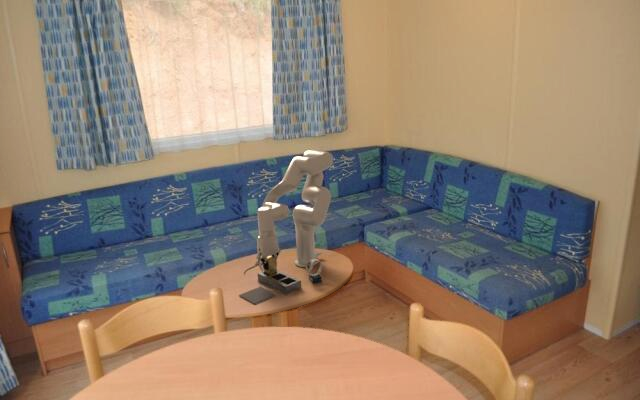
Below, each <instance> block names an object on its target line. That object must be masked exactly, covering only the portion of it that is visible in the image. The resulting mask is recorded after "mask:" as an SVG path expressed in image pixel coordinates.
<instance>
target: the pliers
mask: <svg viewBox="0 0 640 400" xmlns="http://www.w3.org/2000/svg"><path fill="white" fill-rule="evenodd" d="M257 266H258V267H259V269H260V270H261V272H262V271H264V268H263V262H262V261H260V260H258V259H257V261H256V262H255V264H254V265H253V266H250V267H248V268H247V269H245V270H244V271H243V275H245V274H246V273H247V271H249V270H251V269H254V268H256V267H257Z"/></svg>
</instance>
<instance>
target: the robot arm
mask: <svg viewBox="0 0 640 400" xmlns="http://www.w3.org/2000/svg"><path fill="white" fill-rule="evenodd" d="M333 162H334V157H333V154H332V153H331V152H329V151H327V150H326V151H325V150H316V149H308V150H306V151H305V152H304V153H303V156H302V155H301V156H299V155H297V156H294V157H293V158H292V160H291V161H290V163H289V165H288V167H287V170H286V171H285V173H284V175H283V177H282V180H281V181H280V182H279V183H277V184H276V185H275V186H274V187H273V188H271V189H270V190H269V191H268V192H267V194H266V195H265V198H264V200H263V202H262V205H261V206H260V207H258V209H257V211H256V212H257V213H256V215H257V225H258V236H257V241H256V250H257V255H256V257H255V259H256V260H257V261H258V260H260V262H263V264H262V268H263V270H264V269H265V270H268V263H267V257H268V256H273V257H275V258H276V266H277V267H278V265H277V264H278V261H277V259H278V257H279V255H280V253H281V252H282V249H281V247H280V245H279V239H278V236H277V233H276V230H277V227H275V222H277V221H283V220H285V219H286V218H288V216H289V214H290V209H289V207H288V205H286V204H284V203H279V202H278V200H279V199H280V198H281V197H282V196H284V195H286V194H289V193H292V192H295V191H297V190H298V188H299V186H300V184H301V182H302V179H303V177H304V175H306V180H305V183H304V185H303V188H302V192H301V200H302V201H303V202H305V203H307V204H298V205H296V206H295V207H294V208H293V210H292V218H293V223H294V228H295V242H296V243H295V245H296V259H295V260H294V265H295V266H297V267H300V268H306V265H307V263H308V261H310V260H312V259H318V257H320V256H322V254H323V252H322V251H316V248H315V247H316V245H315V243H316V242H315V229H314V227H320V226H321V225H323V223H324V222H325V219H326V217H327V213H328V211H329V210H328V209H329V207H330V204H331V200H332V195H331V191H330V189H328V188H327V187H326V186H322V185H323V183H324V182H323V181H324V173H323V172H324V171H325V170H329V168H330V167H331V166H332V165H333ZM308 204H310V205H308ZM311 205H314V206H311ZM318 264H319V261H315V262H314V264H313V267H314V266H317V265H318Z"/></svg>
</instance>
